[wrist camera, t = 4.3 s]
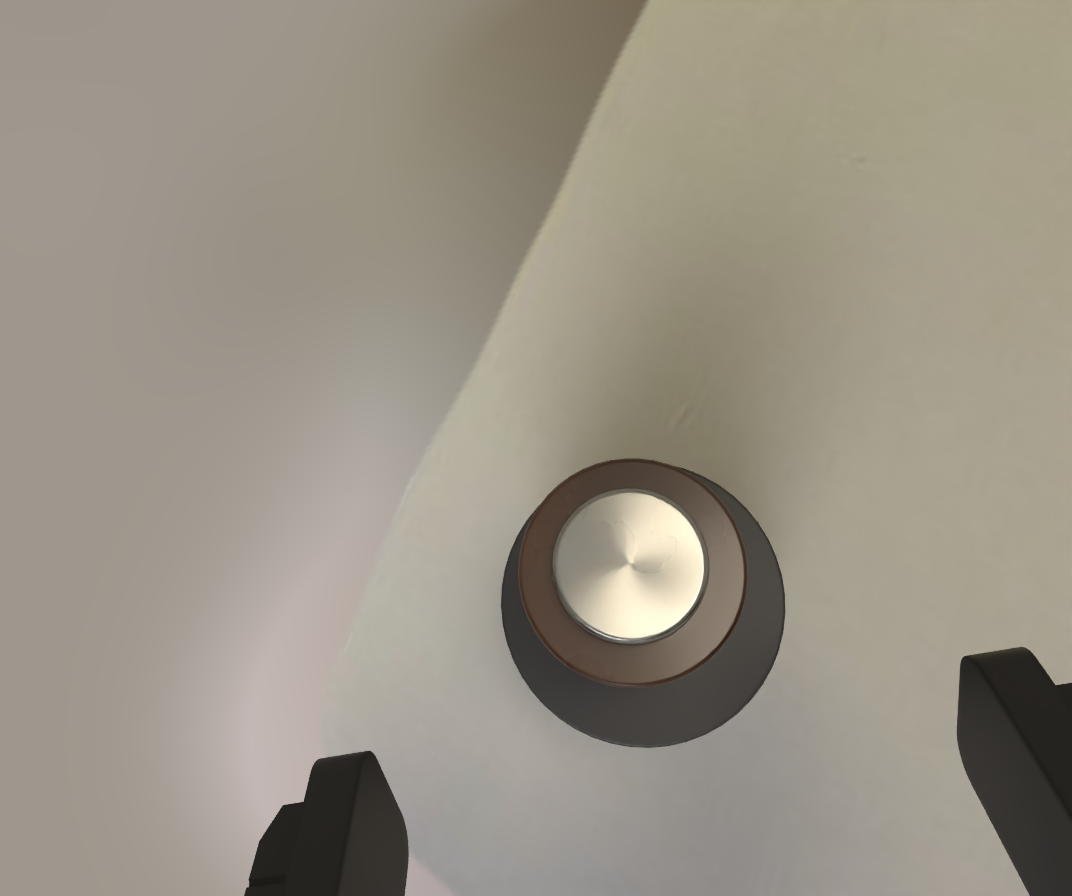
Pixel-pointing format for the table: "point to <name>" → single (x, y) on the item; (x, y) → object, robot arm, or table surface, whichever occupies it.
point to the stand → (674, 705)
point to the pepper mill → (633, 573)
